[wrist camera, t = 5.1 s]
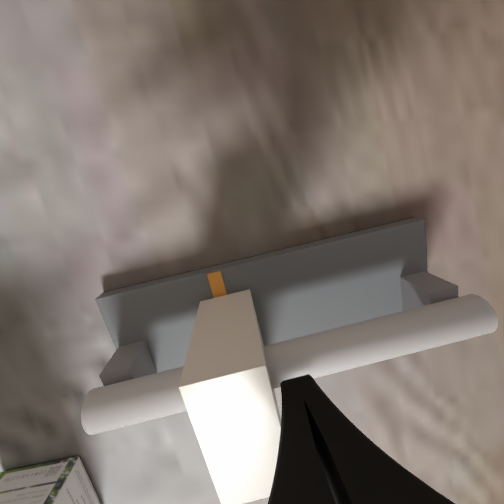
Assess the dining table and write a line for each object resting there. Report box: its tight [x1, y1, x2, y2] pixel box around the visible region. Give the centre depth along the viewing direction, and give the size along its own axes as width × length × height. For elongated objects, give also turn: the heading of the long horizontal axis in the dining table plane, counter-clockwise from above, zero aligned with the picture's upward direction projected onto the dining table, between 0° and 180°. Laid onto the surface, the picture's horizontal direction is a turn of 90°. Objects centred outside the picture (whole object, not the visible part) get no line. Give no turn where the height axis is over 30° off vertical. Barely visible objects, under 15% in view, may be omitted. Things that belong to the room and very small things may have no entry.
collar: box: [179, 289, 281, 504], centre depth 13 cm, size 3×6×7 cm, turn 13°
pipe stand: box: [81, 218, 498, 435], centre depth 15 cm, size 20×9×6 cm, turn 103°
